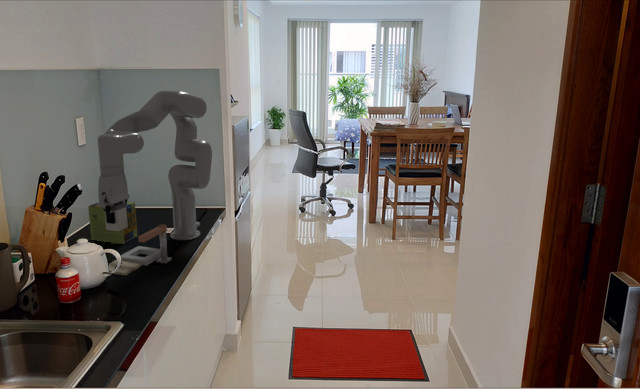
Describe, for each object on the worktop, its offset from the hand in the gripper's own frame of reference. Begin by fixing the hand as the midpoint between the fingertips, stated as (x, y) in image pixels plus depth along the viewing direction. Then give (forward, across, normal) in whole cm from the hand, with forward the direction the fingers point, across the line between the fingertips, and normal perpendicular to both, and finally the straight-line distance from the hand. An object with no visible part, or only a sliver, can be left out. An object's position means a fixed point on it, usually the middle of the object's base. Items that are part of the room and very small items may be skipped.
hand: (116, 220), depth 168 cm
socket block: (+18, -12, +1) cm, 22 cm away
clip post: (+18, -12, +10) cm, 24 cm away
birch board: (+18, 0, 0) cm, 18 cm away
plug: (+3, 0, 0) cm, 3 cm away
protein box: (+19, -27, -23) cm, 40 cm away
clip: (+6, -6, +10) cm, 14 cm away
